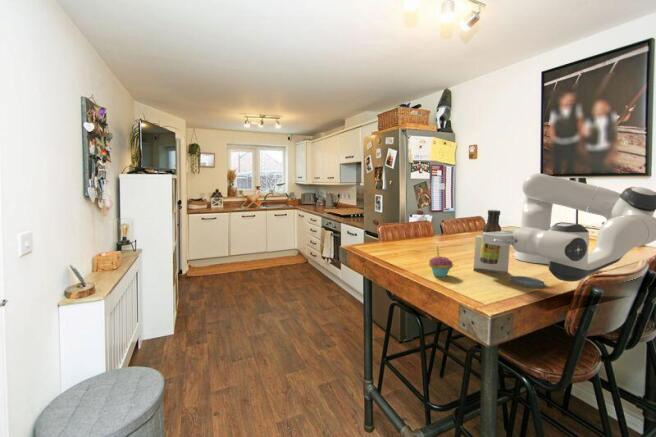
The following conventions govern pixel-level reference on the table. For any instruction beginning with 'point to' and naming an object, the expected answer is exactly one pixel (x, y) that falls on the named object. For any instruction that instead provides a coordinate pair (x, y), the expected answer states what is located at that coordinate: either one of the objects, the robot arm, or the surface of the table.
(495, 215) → the sauce bottle
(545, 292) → the table surface
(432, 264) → the cupcake
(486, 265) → the letter plaque
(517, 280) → the slate mat
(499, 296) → the table surface
